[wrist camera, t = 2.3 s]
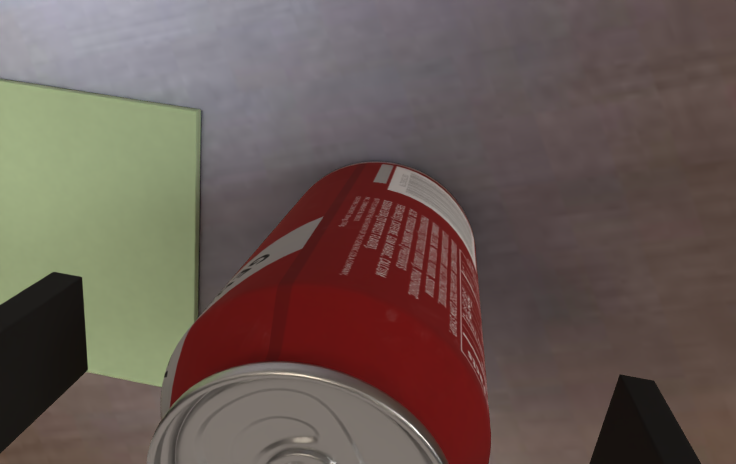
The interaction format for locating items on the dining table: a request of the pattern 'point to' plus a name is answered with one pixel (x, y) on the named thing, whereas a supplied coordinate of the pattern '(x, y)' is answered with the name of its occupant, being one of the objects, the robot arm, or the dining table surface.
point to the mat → (104, 216)
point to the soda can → (340, 337)
